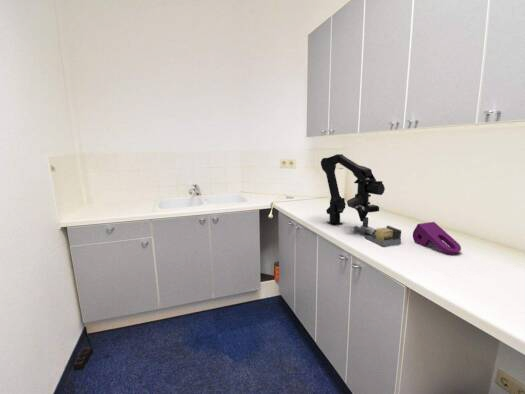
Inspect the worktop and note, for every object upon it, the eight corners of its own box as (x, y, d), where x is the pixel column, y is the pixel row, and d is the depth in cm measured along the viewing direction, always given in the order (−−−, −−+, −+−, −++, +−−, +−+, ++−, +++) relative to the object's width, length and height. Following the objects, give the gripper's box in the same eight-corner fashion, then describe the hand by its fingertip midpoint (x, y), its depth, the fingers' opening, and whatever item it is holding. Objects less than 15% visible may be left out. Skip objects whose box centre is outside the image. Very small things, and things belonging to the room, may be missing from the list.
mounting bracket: (455, 263, 117) (425, 234, 131) (466, 250, 112) (434, 221, 126) (438, 266, 114) (410, 236, 128) (448, 253, 109) (417, 223, 123)
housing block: (375, 238, 129) (376, 228, 128) (384, 237, 131) (384, 227, 130) (383, 242, 125) (384, 231, 124) (392, 240, 126) (392, 230, 125)
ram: (360, 229, 142) (361, 217, 140) (364, 229, 142) (365, 216, 141) (376, 236, 130) (377, 223, 129) (380, 236, 131) (381, 222, 130)
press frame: (350, 231, 144) (350, 220, 143) (368, 228, 147) (368, 218, 146) (382, 247, 121) (383, 234, 120) (403, 243, 125) (404, 231, 124)
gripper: (339, 190, 146) (338, 218, 149) (361, 196, 128) (360, 228, 131) (356, 189, 149) (355, 216, 152) (380, 194, 131) (379, 225, 134)
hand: (361, 221), depth 142 cm, fingers closed
